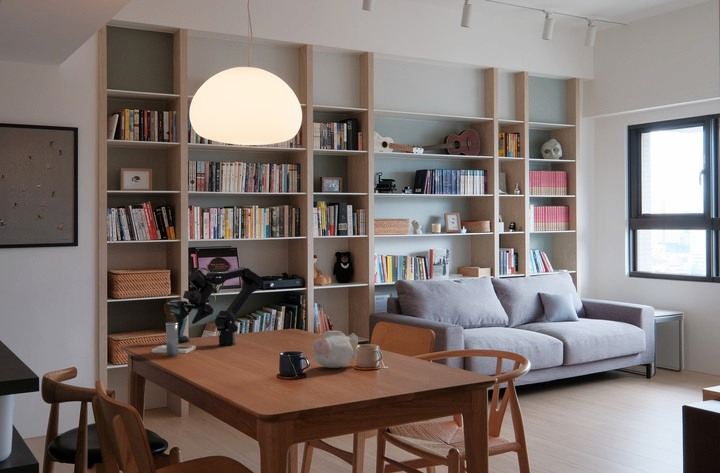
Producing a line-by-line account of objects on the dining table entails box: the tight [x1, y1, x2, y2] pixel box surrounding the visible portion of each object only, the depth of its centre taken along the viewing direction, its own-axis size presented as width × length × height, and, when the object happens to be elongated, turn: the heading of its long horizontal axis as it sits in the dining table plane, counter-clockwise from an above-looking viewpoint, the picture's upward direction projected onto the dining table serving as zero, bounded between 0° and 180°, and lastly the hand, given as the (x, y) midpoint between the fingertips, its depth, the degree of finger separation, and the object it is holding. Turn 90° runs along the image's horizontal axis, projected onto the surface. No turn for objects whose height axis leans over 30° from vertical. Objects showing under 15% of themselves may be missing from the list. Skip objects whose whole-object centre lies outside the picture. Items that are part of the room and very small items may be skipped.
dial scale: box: [151, 344, 197, 354], centre depth 350 cm, size 16×12×2 cm
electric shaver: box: [163, 299, 190, 344], centre depth 374 cm, size 9×12×20 cm
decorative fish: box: [311, 330, 359, 369], centre depth 304 cm, size 16×19×15 cm
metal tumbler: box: [165, 321, 179, 357], centre depth 337 cm, size 5×5×14 cm
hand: (185, 322), depth 344 cm, fingers open, 9 cm apart
